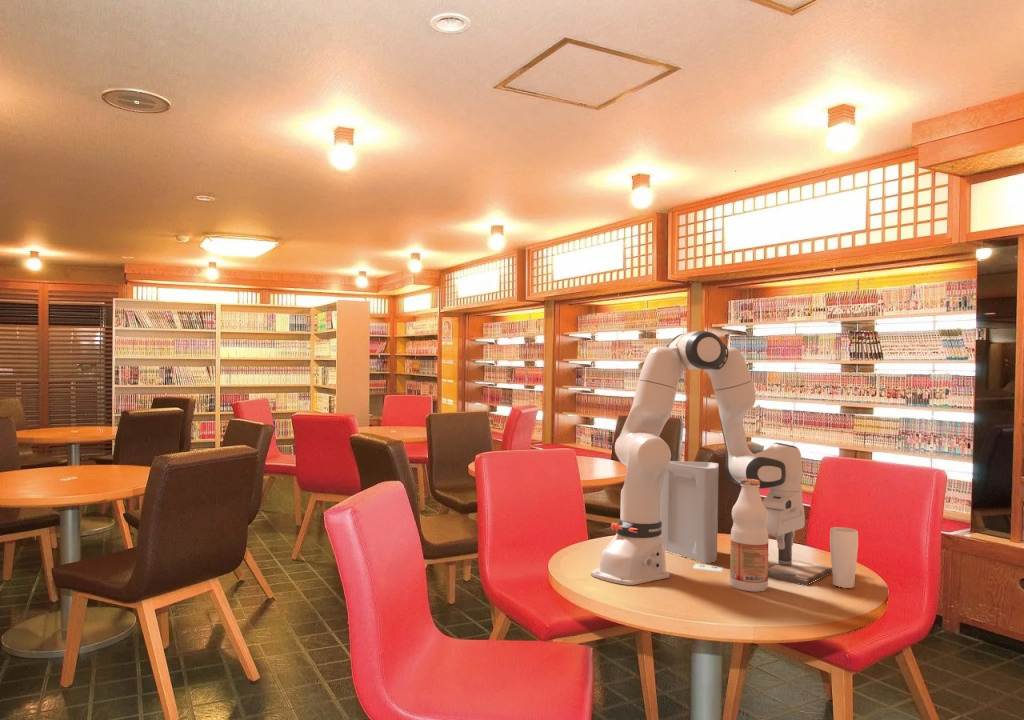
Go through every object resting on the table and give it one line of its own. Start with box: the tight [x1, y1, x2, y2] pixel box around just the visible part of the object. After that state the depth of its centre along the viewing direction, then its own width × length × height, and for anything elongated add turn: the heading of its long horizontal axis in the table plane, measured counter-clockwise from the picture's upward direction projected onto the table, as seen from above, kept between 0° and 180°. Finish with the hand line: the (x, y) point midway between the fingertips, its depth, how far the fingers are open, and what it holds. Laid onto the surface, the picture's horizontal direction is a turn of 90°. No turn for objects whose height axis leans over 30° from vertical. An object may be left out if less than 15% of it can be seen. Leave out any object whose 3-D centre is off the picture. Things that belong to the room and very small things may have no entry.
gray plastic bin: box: [660, 460, 719, 564], centre depth 218 cm, size 19×15×28 cm
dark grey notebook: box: [768, 559, 832, 586], centre depth 197 cm, size 20×13×2 cm, turn 136°
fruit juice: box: [729, 479, 769, 593], centre depth 183 cm, size 9×9×28 cm
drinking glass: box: [829, 526, 859, 589], centre depth 185 cm, size 7×7×15 cm
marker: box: [777, 531, 793, 565], centre depth 201 cm, size 4×4×12 cm
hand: (785, 547), depth 201 cm, fingers closed on marker, 4 cm apart
